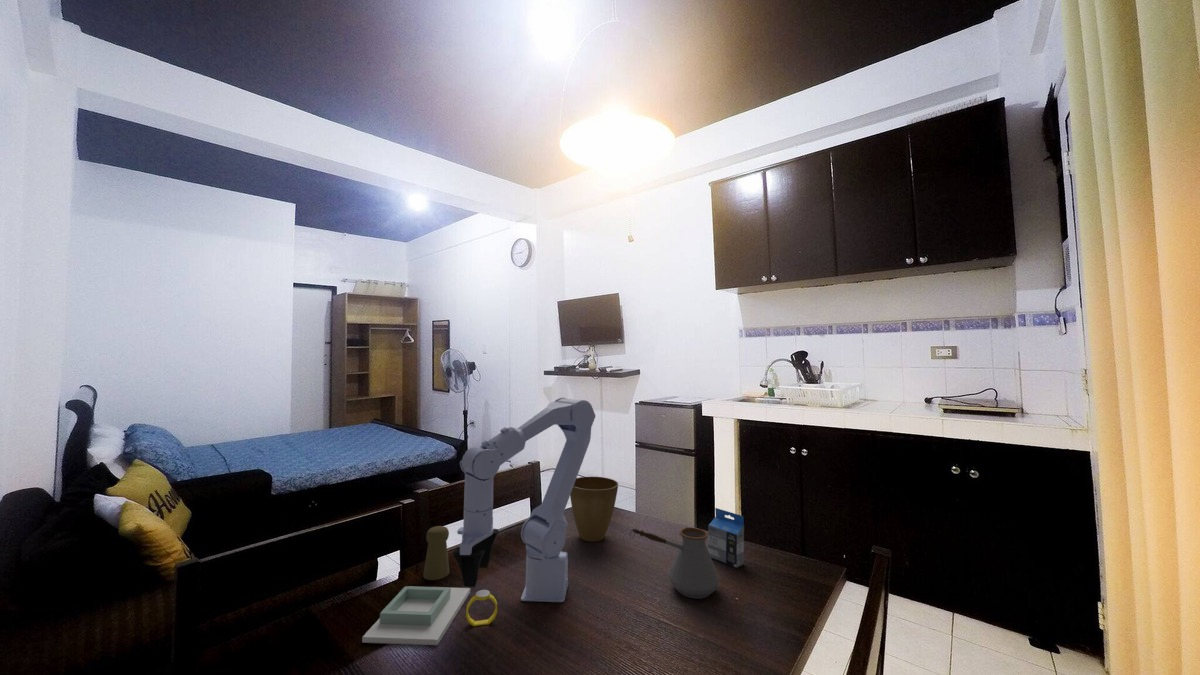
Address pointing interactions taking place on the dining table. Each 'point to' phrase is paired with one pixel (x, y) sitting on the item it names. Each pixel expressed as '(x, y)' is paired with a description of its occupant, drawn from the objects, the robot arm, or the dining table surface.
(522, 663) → the dining table surface
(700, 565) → the coffee pot
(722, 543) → the label tape box
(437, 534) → the olive pawn shaped peg
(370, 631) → the pocket plate
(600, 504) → the plant pot
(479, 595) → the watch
